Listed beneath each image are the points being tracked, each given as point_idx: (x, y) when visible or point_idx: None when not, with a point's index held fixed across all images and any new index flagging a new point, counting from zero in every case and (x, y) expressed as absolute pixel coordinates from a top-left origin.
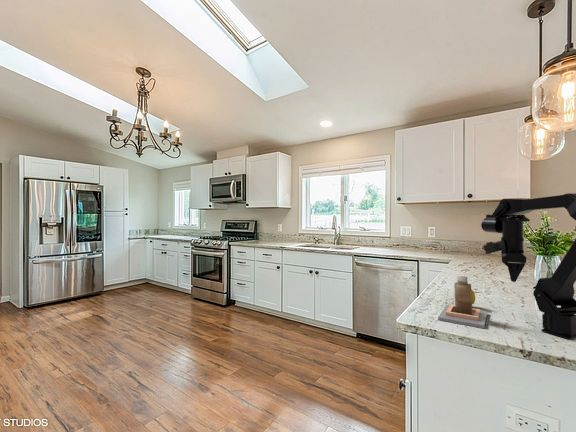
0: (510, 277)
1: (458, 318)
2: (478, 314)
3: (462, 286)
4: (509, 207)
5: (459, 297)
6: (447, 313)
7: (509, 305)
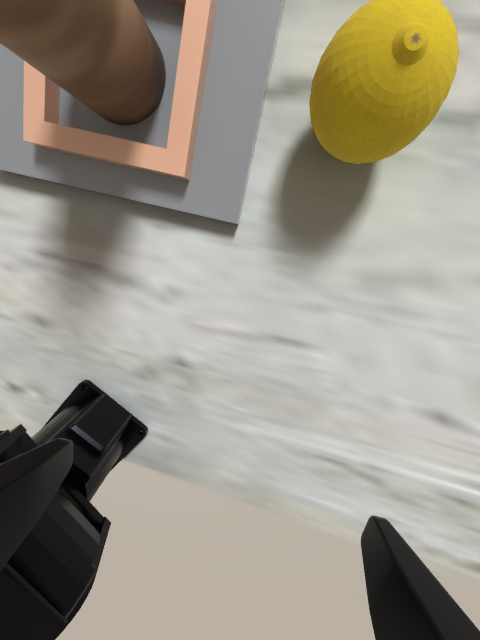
0: (6, 461)
1: None
2: (78, 150)
3: None
4: None
5: None
6: None
7: (444, 367)
